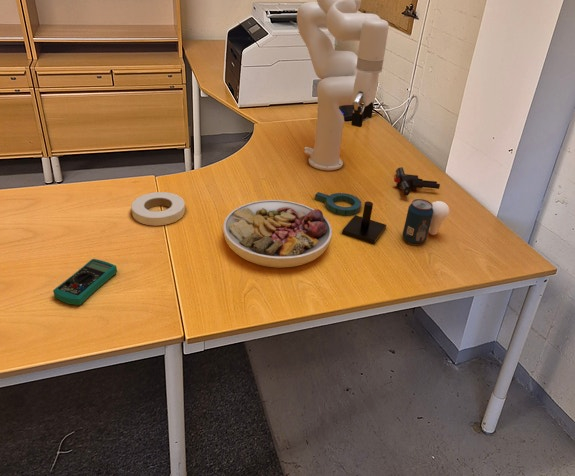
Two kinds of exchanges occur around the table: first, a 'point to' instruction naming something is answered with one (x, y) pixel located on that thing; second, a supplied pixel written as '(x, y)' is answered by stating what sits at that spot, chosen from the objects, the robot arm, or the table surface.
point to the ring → (340, 197)
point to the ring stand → (364, 226)
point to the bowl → (277, 233)
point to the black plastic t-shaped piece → (412, 182)
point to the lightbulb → (438, 216)
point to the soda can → (418, 221)
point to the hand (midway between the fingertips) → (361, 121)
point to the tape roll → (158, 217)
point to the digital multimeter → (85, 282)
